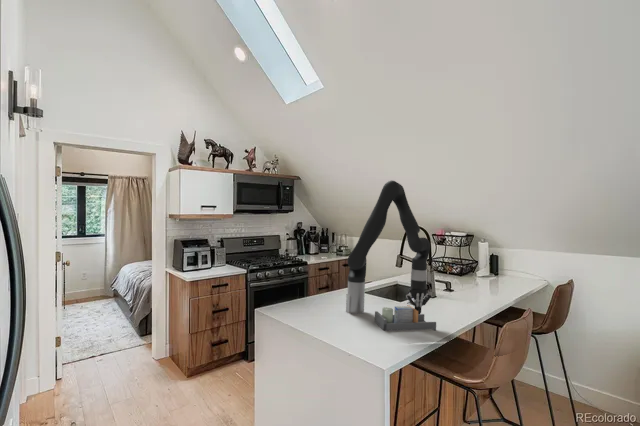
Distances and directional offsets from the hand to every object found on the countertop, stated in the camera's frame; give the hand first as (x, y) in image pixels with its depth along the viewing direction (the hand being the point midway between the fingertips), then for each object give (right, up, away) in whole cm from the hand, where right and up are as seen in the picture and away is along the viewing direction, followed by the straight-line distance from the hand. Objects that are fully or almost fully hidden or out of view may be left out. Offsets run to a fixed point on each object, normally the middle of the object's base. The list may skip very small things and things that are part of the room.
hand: (417, 313), depth 159 cm
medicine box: (-7, -5, -1) cm, 9 cm away
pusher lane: (-7, -6, -1) cm, 9 cm away
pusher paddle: (-3, -5, -1) cm, 6 cm away
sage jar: (-15, -5, -3) cm, 16 cm away
